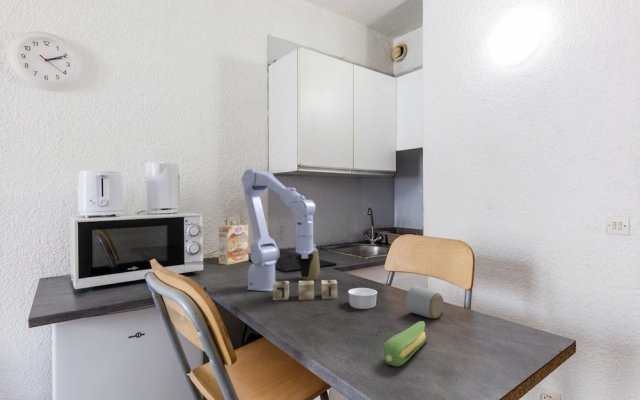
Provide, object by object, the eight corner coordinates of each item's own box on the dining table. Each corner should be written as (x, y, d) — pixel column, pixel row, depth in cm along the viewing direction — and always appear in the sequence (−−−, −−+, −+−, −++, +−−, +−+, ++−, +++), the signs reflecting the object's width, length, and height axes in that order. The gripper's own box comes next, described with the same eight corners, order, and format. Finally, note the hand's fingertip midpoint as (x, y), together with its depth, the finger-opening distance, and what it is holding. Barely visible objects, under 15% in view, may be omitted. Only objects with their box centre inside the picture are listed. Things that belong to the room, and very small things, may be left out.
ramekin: (342, 305, 103) (342, 291, 103) (359, 299, 109) (359, 286, 109) (366, 312, 97) (366, 297, 97) (382, 305, 103) (382, 290, 103)
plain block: (298, 300, 109) (298, 284, 109) (299, 295, 114) (298, 280, 114) (314, 299, 110) (313, 284, 110) (313, 295, 115) (313, 280, 115)
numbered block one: (322, 299, 110) (322, 283, 110) (321, 294, 115) (321, 279, 115) (337, 298, 110) (337, 283, 110) (336, 294, 115) (335, 279, 115)
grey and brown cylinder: (431, 322, 88) (431, 293, 88) (404, 315, 94) (404, 287, 94) (451, 314, 95) (451, 286, 95) (424, 307, 101) (424, 281, 101)
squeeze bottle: (320, 281, 133) (319, 236, 133) (299, 281, 133) (299, 236, 133) (320, 276, 141) (319, 234, 141) (301, 276, 141) (300, 234, 141)
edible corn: (374, 344, 66) (394, 343, 63) (415, 318, 81) (432, 316, 79) (380, 372, 65) (402, 372, 62) (420, 340, 80) (439, 339, 78)
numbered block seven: (272, 300, 109) (272, 284, 109) (274, 295, 114) (274, 280, 114) (288, 300, 109) (288, 284, 109) (289, 295, 114) (288, 280, 114)
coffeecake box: (227, 265, 169) (227, 226, 169) (218, 263, 173) (217, 225, 173) (249, 260, 182) (248, 224, 182) (239, 259, 186) (239, 224, 186)
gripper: (317, 238, 105) (317, 281, 105) (315, 233, 120) (316, 271, 120) (294, 238, 105) (295, 282, 105) (296, 233, 119) (296, 271, 119)
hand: (305, 276), depth 112 cm, fingers closed
